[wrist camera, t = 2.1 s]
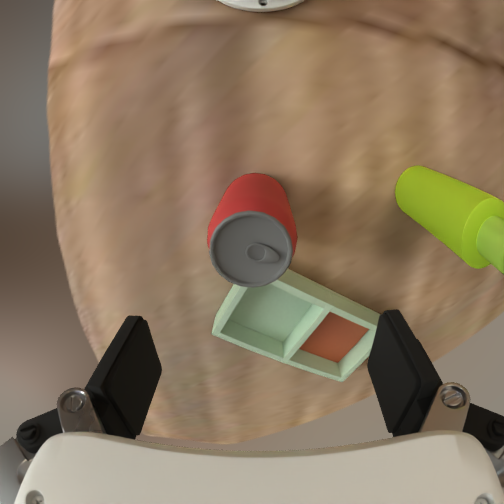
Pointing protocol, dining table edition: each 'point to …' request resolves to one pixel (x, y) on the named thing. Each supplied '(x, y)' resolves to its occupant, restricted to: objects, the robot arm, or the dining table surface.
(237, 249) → the beer can
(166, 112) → the dining table surface
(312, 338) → the divided tray
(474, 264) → the soap dispenser
